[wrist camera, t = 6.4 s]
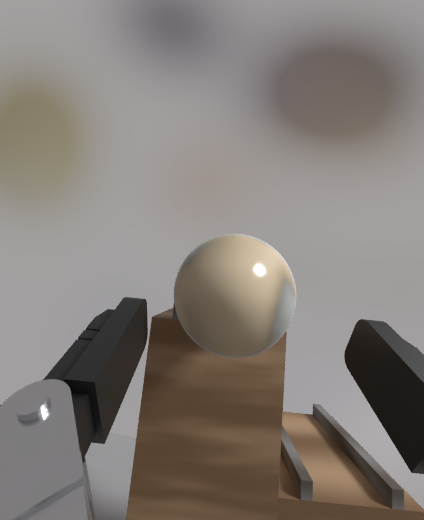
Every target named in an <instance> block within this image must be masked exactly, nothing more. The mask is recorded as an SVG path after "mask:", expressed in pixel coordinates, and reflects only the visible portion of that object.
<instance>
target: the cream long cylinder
mask: <svg viewBox="0 0 424 520" xmlns="http://www.w3.org/2000/svg"><path fill="white" fill-rule="evenodd" d="M174 304H175V309H176V313H177V316H178V319H179V321H180V323H181V325H182V327H183V329H184V330H185V331H186V333H187V334H188V335H189V337H190V338H191V339H192V340H193V341H194V342H195V343H197V344H198V345H199V346H200V347H202V348H203V349H205V350H207V351H209V352H211V353H213V354H216V355H219V356H222V357H228V358H243V357H249V356H253V355H256V354H259V353H261V352H263V351H265V350H267V349H269V348H270V347H271V346H273V345H274V344H275V343H276V342H277V341H278V340H279V339H280V338H281V337H282V336H283V335H284V333H285V332H286V331H287V329H288V327H289V325H290V323H291V321H292V319H293V316H294V312H295V308H296V286H295V281H294V278H293V275H292V273H291V270H290V268H289V266H288V264H287V263H286V261H285V260H284V258H283V257H282V256H281V255H280V254H279V253H278V252H277V251H276V250H275V249H274V248H273V247H271V246H270V245H269V244H267V243H265V242H264V241H262V240H260V239H257V238H255V237H252V236H248V235H242V234H226V235H221V236H217V237H214V238H212V239H209V240H207V241H205V242H203V243H202V244H200V245H199V246H198V247H196V248H195V249H194V250H193V251H192V252H191V253H190V254H189V255H188V256H187V258H186V259H185V261H184V262H183V264H182V265H181V267H180V270H179V272H178V274H177V278H176V281H175V287H174Z"/></svg>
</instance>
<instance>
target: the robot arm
mask: <svg viewBox="0 0 424 520" xmlns="http://www.w3.org/2000/svg"><path fill="white" fill-rule="evenodd" d="M147 329H148V328H147V302H146V299H139V298H129V297H125V298H123V299H122V301H121V302H120V304H119V305H118V306H117V308H116V309H115V310H110V309H108V310H106V311H105V312H103V313H102V314H100V315H98V316H97V317H95V318H94V319H93V321H92V322H91V323H90V324H89V325H88V327H87V328H86V330H85V331H83V333H82V334H81V335H80V336H79V338H78V340H76V341H75V342H74V343H73V345H72V346H71V347H70V348H69V349H68V351H67V352H66V353H65V354H64V356H63V357H62V358H61V359H60V360H59V362H58V363H57V364H56V365H55V366H54V367H53V369H52V370H51V371H50V372H49V374H48V375H47V376H46V377H45V379H43V380H42V381H38V382H35V383H32V384H30V385H28V386H26V387H24V388H22V389H20V390H18V391H17V392H16V393H14V394H13V395H11V396H10V397H9V398H8V399H7V400H6V401H5V402H3V404H2V405H0V520H96V519H95V513H94V507H93V501H92V495H91V489H90V483H89V477H88V470H87V464H86V459H85V455H86V453H87V451H88V448H89V446H90V444H91V442H92V443H102V444H105V441H106V439H107V436H108V434H109V432H110V429H111V426H112V425H113V422H114V420H115V417H116V415H117V413H118V410H119V408H120V405H121V403H122V401H123V399H124V396H125V394H126V391H127V389H128V387H129V384H130V382H131V380H132V377H133V375H134V372H135V370H136V368H137V365H138V363H139V361H140V358H141V356H142V353H143V351H144V348H145V345H146V341H147V334H148V333H147V331H148V330H147ZM345 363H346V366H347V368H348V370H349V371H350V373H351V375H352V376H353V378H354V380H355V381H356V383H357V385H358V386H359V388H360V389H361V391H362V393H363V394H364V396H365V397H366V399H367V401H368V402H369V404H370V406H371V407H372V409H373V411H374V412H375V414H376V415H377V417H378V419H379V420H380V422H381V423H382V425H383V427H384V428H385V430H386V432H387V433H388V435H389V437H390V438H391V440H392V442H393V443H394V445H395V446H396V448H397V450H398V451H399V453H400V454H401V456H402V458H403V459H404V461H405V463H406V464H407V466H408V468H409V469H410V471H411V472H412V473H420V474H424V355H423V354H422V353H421V352H420V351H419V350H418V349H417V348H416V347H414V346H413V345H411V344H410V343H408V342H407V341H405V340H404V339H402V338H401V337H400V336H399V335H398V334H397V333H396V332H395V331H394V330H393V329H392V328H391V327H390V326H389V325H388V324H387V323H385V322H382V321H373V320H363V319H361V320H359V321H358V322H357V323H356V325H355V328H354V330H353V333H352V335H351V337H350V340H349V342H348V345H347V347H346V350H345Z"/></svg>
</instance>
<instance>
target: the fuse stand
mask: <svg viewBox="0 0 424 520" xmlns="http://www.w3.org/2000/svg"><path fill="white" fill-rule="evenodd" d="M285 349H286V332H285V333H284V335H283V336H282V337H281V338H280V339H279V340H278V341H277V342H276V343H275V344H274V345H273V346H271V347H270V348H269V349H267V350H265V351H263V352H261V353H259V354H256V355H253V356H249V357H243V358H228V357H222V356H219V355H216V354H213V353H211V352H209V351H207V350H205V349H203V348H202V347H200V346H199V345H198V344H197V343H195V342H194V341H193V340H192V339H191V338H190V337H189V335H188V334H187V333H186V331H185V330H184V329H183V327H182V325H181V323H180V321H179V319H178V316H177V313H176V309H175V304H174V308H172V309H169V310H167V311H165V312H162V313H160V314H158V315H155V316H153V317H152V322H151V329H150V338H149V346H148V353H147V360H146V368H145V376H144V384H143V392H142V399H141V408H140V415H139V423H138V430H137V438H136V446H135V454H134V461H133V469H132V477H131V485H130V493H129V500H128V508H127V516H126V520H424V509H423V508H422V507H421V506H420V505H419V504H418V503H417V502H416V501H415V500H414V499H413V498H412V497H411V496H410V495H409V494H408V493H407V492H406V491H405V490H404V489H403V488H402V487H401V486H400V485H399V484H398V483H397V482H396V481H395V480H394V479H393V478H392V477H391V476H390V475H389V474H388V473H387V472H386V471H385V470H384V469H383V468H382V467H381V466H380V465H379V464H378V463H377V462H376V461H375V460H374V459H373V458H372V457H371V456H370V455H369V454H368V453H367V452H366V451H365V450H364V449H363V447H361V446H360V444H358V442H357V441H356V440H355V439H354V438H352V437H351V435H350V434H349V433H347V431H346V430H345V429H344V428H343V427H342V426H341V425H340V424H339V423H338V422H337V421H336V420H335V419H334V418H333V417H332V416H330V414H328V412H326V410H325V409H324V408H323V407H322V406H321V405H318V404H313V415H310V414H299V413H289V412H283V392H284V372H285V352H286V350H285Z"/></svg>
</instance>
